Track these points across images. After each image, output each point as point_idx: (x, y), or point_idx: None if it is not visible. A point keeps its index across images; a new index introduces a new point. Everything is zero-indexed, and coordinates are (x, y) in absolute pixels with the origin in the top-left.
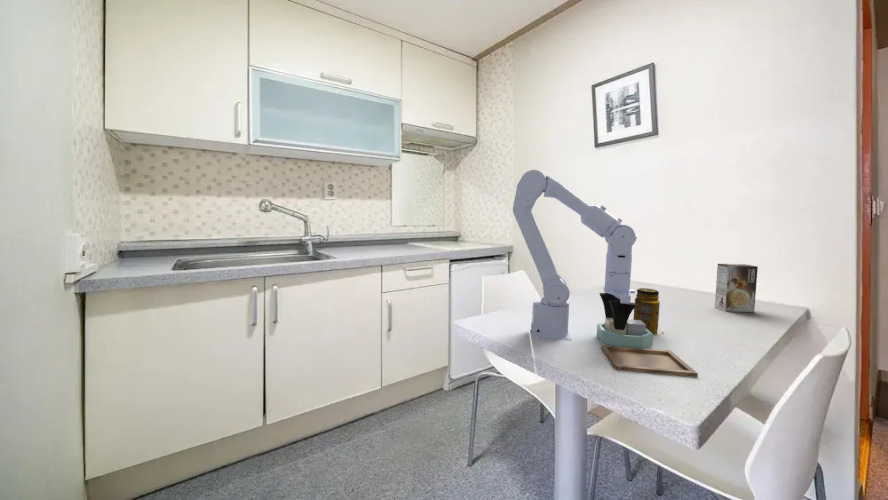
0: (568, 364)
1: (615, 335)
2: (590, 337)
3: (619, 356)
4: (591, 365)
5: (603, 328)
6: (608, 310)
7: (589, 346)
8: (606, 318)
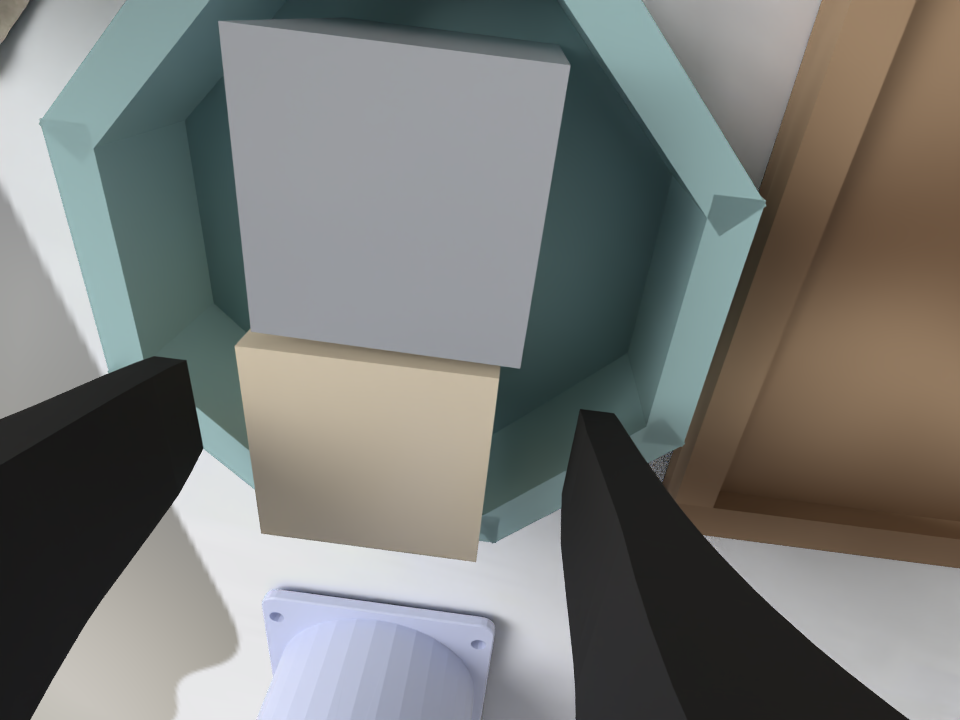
0: None
1: None
2: None
3: (869, 454)
4: (930, 632)
5: None
6: (108, 543)
7: None
8: (306, 536)
